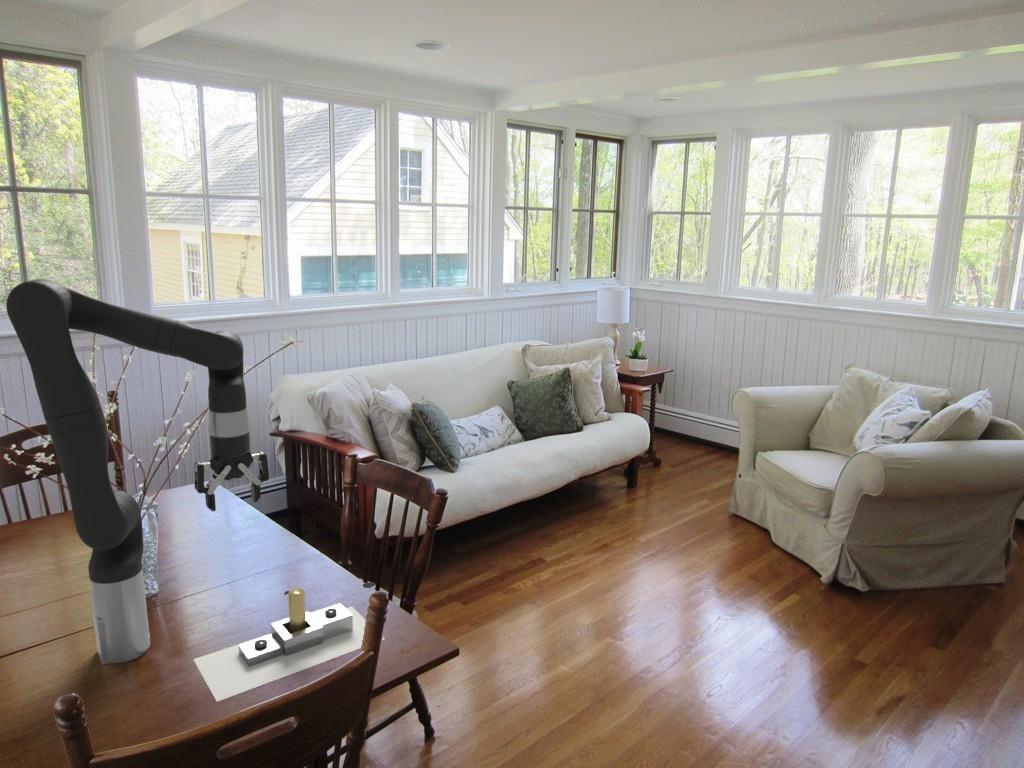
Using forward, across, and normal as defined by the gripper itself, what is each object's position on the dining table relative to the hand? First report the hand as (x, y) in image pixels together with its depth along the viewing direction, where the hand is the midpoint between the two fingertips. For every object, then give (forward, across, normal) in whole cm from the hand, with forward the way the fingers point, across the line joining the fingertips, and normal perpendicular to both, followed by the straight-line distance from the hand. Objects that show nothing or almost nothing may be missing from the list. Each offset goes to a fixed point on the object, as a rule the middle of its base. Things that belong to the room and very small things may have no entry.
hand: (234, 505), depth 150 cm
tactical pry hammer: (+28, +21, +2) cm, 35 cm away
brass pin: (+27, +7, -13) cm, 31 cm away
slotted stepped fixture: (+27, +7, -13) cm, 31 cm away
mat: (+28, +5, -15) cm, 32 cm away
